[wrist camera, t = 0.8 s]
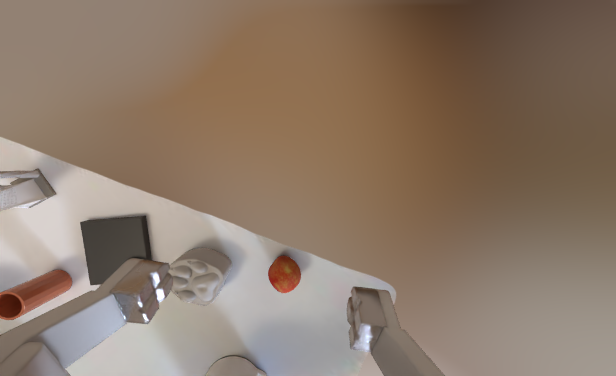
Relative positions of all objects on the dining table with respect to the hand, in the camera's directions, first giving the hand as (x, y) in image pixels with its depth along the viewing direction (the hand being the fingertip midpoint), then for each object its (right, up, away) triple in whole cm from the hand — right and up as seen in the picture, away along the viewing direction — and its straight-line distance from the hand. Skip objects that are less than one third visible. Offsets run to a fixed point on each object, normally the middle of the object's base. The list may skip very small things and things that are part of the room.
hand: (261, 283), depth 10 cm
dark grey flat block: (-46, -11, +46) cm, 66 cm away
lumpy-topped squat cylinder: (-25, -17, +48) cm, 57 cm away
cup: (-61, -20, +46) cm, 79 cm away
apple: (-4, -17, +50) cm, 53 cm away
